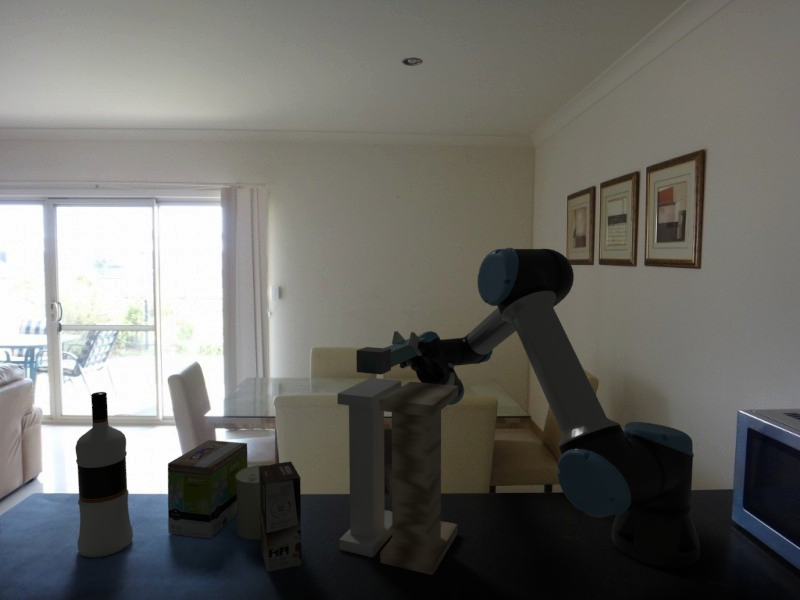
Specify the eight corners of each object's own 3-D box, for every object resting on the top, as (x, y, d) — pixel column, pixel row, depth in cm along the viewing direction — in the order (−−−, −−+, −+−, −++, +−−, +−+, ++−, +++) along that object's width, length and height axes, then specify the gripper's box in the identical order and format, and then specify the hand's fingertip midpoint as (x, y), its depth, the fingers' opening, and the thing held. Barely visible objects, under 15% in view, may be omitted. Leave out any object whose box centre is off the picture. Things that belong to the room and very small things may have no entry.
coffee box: (303, 565, 95) (301, 478, 94) (266, 573, 92) (264, 483, 91) (293, 540, 103) (292, 460, 102) (259, 547, 101) (257, 464, 100)
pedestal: (457, 533, 106) (458, 385, 103) (432, 575, 92) (432, 405, 90) (410, 524, 109) (410, 381, 107) (380, 562, 96) (379, 399, 93)
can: (227, 536, 105) (226, 477, 104) (251, 515, 114) (250, 460, 113) (270, 542, 103) (268, 482, 102) (290, 519, 112) (289, 464, 111)
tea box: (212, 540, 104) (210, 466, 102) (167, 535, 106) (164, 463, 104) (249, 505, 118) (248, 441, 117) (208, 501, 120) (206, 438, 119)
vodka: (73, 564, 95) (65, 401, 93) (82, 539, 104) (74, 389, 102) (131, 553, 99) (124, 395, 97) (135, 530, 107) (128, 384, 105)
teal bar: (429, 351, 116) (429, 333, 116) (381, 374, 93) (381, 352, 93) (408, 350, 118) (408, 332, 118) (356, 372, 95) (356, 350, 95)
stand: (401, 522, 110) (401, 380, 108) (372, 557, 97) (371, 397, 95) (371, 516, 113) (370, 377, 111) (339, 549, 100) (337, 393, 98)
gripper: (465, 392, 123) (437, 357, 104) (401, 386, 130) (364, 352, 110) (469, 362, 126) (443, 322, 107) (407, 357, 133) (371, 319, 113)
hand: (403, 337), depth 109 cm, fingers closed on teal bar, 3 cm apart
